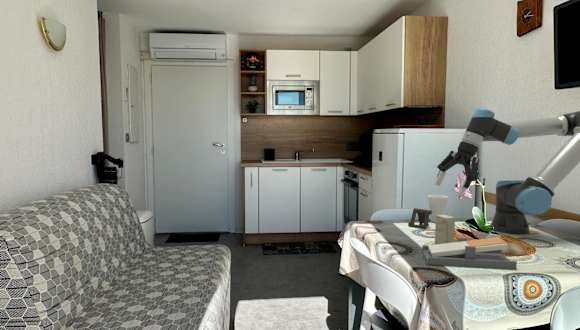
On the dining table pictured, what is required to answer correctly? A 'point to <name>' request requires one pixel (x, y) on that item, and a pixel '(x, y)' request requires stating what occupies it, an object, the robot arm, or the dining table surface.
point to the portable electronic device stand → (420, 218)
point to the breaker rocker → (459, 247)
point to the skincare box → (444, 229)
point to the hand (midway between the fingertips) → (448, 189)
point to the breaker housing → (471, 258)
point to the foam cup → (437, 205)
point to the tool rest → (514, 249)
